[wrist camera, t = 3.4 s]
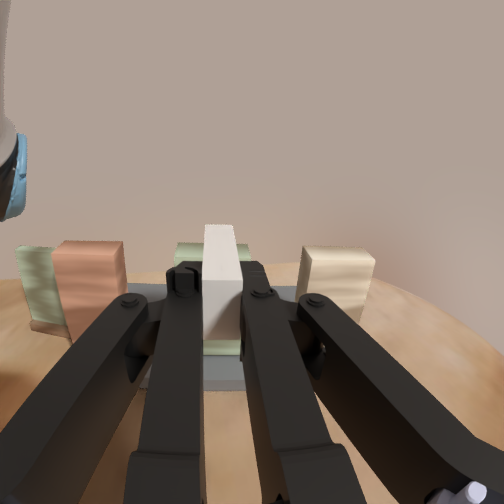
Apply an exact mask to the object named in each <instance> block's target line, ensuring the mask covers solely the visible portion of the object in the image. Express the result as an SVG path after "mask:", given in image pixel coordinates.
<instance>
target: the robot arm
mask: <svg viewBox="0 0 504 504" xmlns="http://www.w3.org/2000/svg"><path fill="white" fill-rule="evenodd" d="M10 4H11V0H0V222H3V221H5V220H6V219H9V218H12V217H16V216H18V215H20V214H21V213H22V212H23V210H24V208H25V202H26V169H27V138H26V136H25V135H24V134H19V133H16V129H15V126H14V124H13V123H12V121H11V120H10V119H8V118H7V117H5V116H4V59H5V43H6V33H7V24H8V17H9V10H10ZM166 282H167V296H166V298H164V299H162V300H160V301H155V302H149V303H148V301H147V298H146V297H145V296H144V295H142V294H138V293H125V294H122V295H120V296H118V297H116V298H115V299H114V300H113V301H112V302H111V303H110V304H109V305H108V306H107V307H106V308H105V309H104V311H103V312H102V313H101V314H100V315H99V316H98V317H97V318H96V319H95V320H94V321H93V322H92V324H91V325H90V326H89V327H88V328H87V329H86V330H85V331H84V332H83V333H82V335H81V336H80V337H79V338H78V339H77V340H76V341H75V342H74V344H73V345H72V346H71V347H70V348H69V349H68V350H67V352H66V353H65V354H64V355H63V356H62V357H61V358H60V360H59V361H58V362H57V363H56V364H55V365H54V367H53V368H52V369H51V370H50V371H49V373H48V374H47V375H46V376H45V377H44V379H43V380H42V381H41V382H40V383H39V385H38V386H37V387H36V388H35V389H34V391H33V392H32V393H31V394H30V396H29V397H28V398H27V399H26V401H25V402H24V403H23V404H22V406H21V407H20V408H19V409H18V411H17V412H16V413H15V415H14V416H13V417H12V418H11V420H10V421H9V422H8V424H7V425H6V426H5V428H4V429H3V430H2V432H1V433H0V504H78V502H79V500H80V498H81V496H82V494H83V492H84V490H85V488H86V486H87V484H88V482H89V480H90V479H91V477H92V475H93V473H94V471H95V469H96V467H97V465H98V463H99V461H100V459H101V457H102V455H103V453H104V451H105V449H106V448H107V446H108V444H109V442H110V440H111V438H112V436H113V434H114V432H115V430H116V429H117V427H118V425H119V423H120V421H121V419H122V417H123V416H124V414H125V412H126V410H127V408H128V406H129V404H130V403H131V401H132V399H133V397H134V395H135V393H136V392H137V390H138V388H139V386H140V384H141V383H142V381H143V379H144V377H145V375H146V374H147V372H148V370H149V368H150V366H151V365H152V366H151V371H150V377H149V382H148V388H147V394H146V399H145V405H144V411H143V418H142V424H141V431H140V438H139V445H138V449H137V451H134V452H132V453H131V455H130V458H129V463H128V469H127V476H126V484H125V493H124V502H123V504H207V496H206V476H205V449H204V401H203V340H240V334H241V343H240V361H239V362H242V364H243V371H244V379H245V386H246V393H247V400H248V407H249V414H250V421H251V428H252V434H253V441H254V448H255V454H256V461H257V467H258V473H259V480H260V486H261V493H262V504H367V502H366V500H365V497H364V494H363V492H362V489H361V486H360V484H359V481H358V478H357V476H356V473H355V470H354V468H353V465H352V463H351V460H350V457H349V455H348V453H347V451H346V449H345V447H344V446H343V445H342V444H336V443H334V442H332V440H331V438H330V435H329V432H328V429H327V427H326V424H325V421H324V418H323V415H322V413H321V410H320V407H319V404H318V401H317V399H316V396H315V393H316V395H317V396H318V397H319V399H320V400H321V401H322V403H323V404H324V406H325V407H326V408H327V410H328V411H329V412H330V414H331V415H332V417H333V418H334V419H335V421H336V422H337V423H338V425H339V426H340V427H341V429H342V430H343V432H344V433H345V434H346V436H347V437H348V438H349V440H350V441H351V442H352V444H353V445H354V446H355V448H356V449H357V450H358V452H359V453H360V454H361V456H362V457H363V458H364V460H365V461H366V462H367V464H368V465H369V466H370V468H371V469H372V470H373V471H374V473H375V474H376V475H377V477H378V478H379V479H380V481H381V482H382V483H383V485H384V486H385V487H386V488H387V490H388V491H389V492H390V494H391V495H392V496H393V497H394V498H395V499H396V500H397V502H398V503H399V504H504V451H502V450H500V449H498V448H496V447H494V446H492V445H490V444H488V443H486V442H484V441H482V440H480V439H478V438H476V437H475V436H474V435H473V434H472V433H471V432H470V431H469V430H468V429H467V428H466V427H465V426H464V425H463V424H462V423H461V422H460V421H459V420H458V419H457V418H456V417H455V416H454V415H453V414H451V413H450V412H449V411H448V410H447V409H446V408H445V407H444V406H443V405H442V404H441V403H440V402H439V401H438V400H437V399H436V398H435V397H434V396H433V395H432V394H431V393H430V392H429V391H428V390H427V389H426V388H425V387H424V386H423V385H421V384H420V383H419V382H418V381H417V380H416V379H415V378H414V377H413V376H412V375H411V374H410V373H409V372H408V371H407V370H406V369H405V368H404V367H403V366H402V365H400V364H399V363H398V362H397V361H396V360H395V359H394V358H393V357H392V356H391V355H390V354H389V353H388V352H387V351H386V350H385V349H384V348H382V347H381V346H380V345H379V344H378V343H377V342H376V341H375V340H374V339H373V338H372V337H371V336H370V335H369V334H368V333H366V332H365V331H364V330H363V329H362V328H361V327H360V326H359V325H358V324H357V323H356V322H355V321H354V320H353V319H351V318H350V317H349V316H348V315H347V314H346V313H345V312H344V311H343V310H342V309H341V308H340V307H338V306H337V305H336V304H335V303H334V302H333V301H332V300H331V299H330V298H328V297H327V296H324V295H321V294H319V293H307V294H303V295H302V296H300V297H299V301H298V303H296V302H290V301H286V300H282V299H280V297H279V295H278V293H277V291H276V290H275V289H273V288H271V287H270V285H269V282H268V279H267V276H266V273H265V270H264V267H263V265H261V264H260V263H259V262H258V261H239V257H238V251H237V246H236V242H235V236H234V231H233V225H205V237H204V250H203V261H182V262H181V263H179V264H178V265H177V266H176V267H172V268H171V269H169V270H168V271H167V272H166ZM314 392H315V393H314Z"/></svg>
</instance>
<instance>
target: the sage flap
mask: <svg viewBox="0 0 504 504" xmlns="http://www.w3.org/2000/svg"><path fill="white" fill-rule="evenodd" d="M236 246H237V251H238V257H239V261H251V256H250V252H249V248H248V245H247V244H236ZM203 250H204V243H178V245H177V248H176V252H175V255H174V267H176V266H177V265H178V264H179V263H181V262H182V261H203ZM240 343H241V334H240V340H203V355H240Z"/></svg>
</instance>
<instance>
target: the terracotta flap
mask: <svg viewBox="0 0 504 504" xmlns="http://www.w3.org/2000/svg"><path fill="white" fill-rule="evenodd" d="M51 257H52V262H53V267H54V272H55V277H56V282H57V286H58V291H59V295H60V299H61V303H62V307H63V311H64V315H65V319H66V322H67V326H68V329H69V333H70V336H71V339H72V342H73V344H74V342H75V341H76V340H77V339H78V338H79V337H80V336H81V335H82V333H83V332H84V331H85V330H86V329H87V328H88V327H89V326H90V325H91V324H92V322H93V321H94V320H95V319H96V318H97V317H98V316H99V315H100V314H101V313H102V312H103V311H104V309H105V308H106V307H107V306H108V305H109V304H110V303H111V302H112V301H113V300H114V299H115V298H116V297H118V296H120V295H122V294H125V293H128V286H127V278H126V270H125V260H124V249H123V242H122V241H121V242H120V241H64V242H63V243H62V244H61V245H60V246H58V247H57V248H56V249H55V250H54V251H53V252H52V253H51Z"/></svg>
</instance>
